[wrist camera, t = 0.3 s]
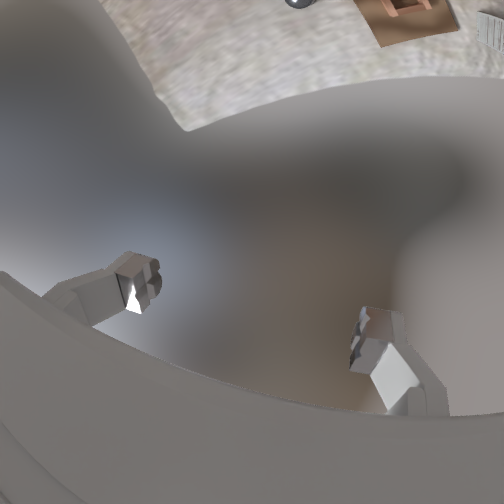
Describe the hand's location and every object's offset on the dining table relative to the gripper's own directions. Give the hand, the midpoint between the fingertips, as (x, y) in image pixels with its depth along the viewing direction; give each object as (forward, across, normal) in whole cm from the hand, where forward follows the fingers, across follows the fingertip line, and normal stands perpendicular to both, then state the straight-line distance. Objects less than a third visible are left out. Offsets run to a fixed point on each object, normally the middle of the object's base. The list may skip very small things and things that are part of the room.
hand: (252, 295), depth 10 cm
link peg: (+44, +5, -30) cm, 53 cm away
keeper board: (+43, -12, -34) cm, 56 cm away
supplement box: (+44, -33, -35) cm, 65 cm away
